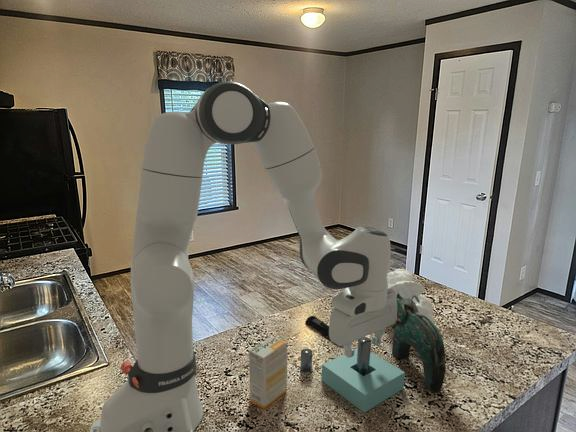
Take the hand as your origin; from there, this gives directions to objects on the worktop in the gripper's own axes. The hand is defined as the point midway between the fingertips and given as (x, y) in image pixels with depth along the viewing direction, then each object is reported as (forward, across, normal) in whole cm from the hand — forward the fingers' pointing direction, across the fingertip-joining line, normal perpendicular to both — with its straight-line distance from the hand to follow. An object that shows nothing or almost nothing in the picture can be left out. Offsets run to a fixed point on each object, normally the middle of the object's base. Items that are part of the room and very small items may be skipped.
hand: (362, 349), depth 93 cm
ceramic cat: (+10, -16, +4) cm, 20 cm away
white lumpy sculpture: (+9, -36, -16) cm, 41 cm away
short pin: (+10, +6, -13) cm, 17 cm away
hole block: (+10, 0, 0) cm, 10 cm away
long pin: (+10, 0, 0) cm, 10 cm away
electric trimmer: (+10, -10, -24) cm, 28 cm away
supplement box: (+10, +20, -10) cm, 25 cm away
